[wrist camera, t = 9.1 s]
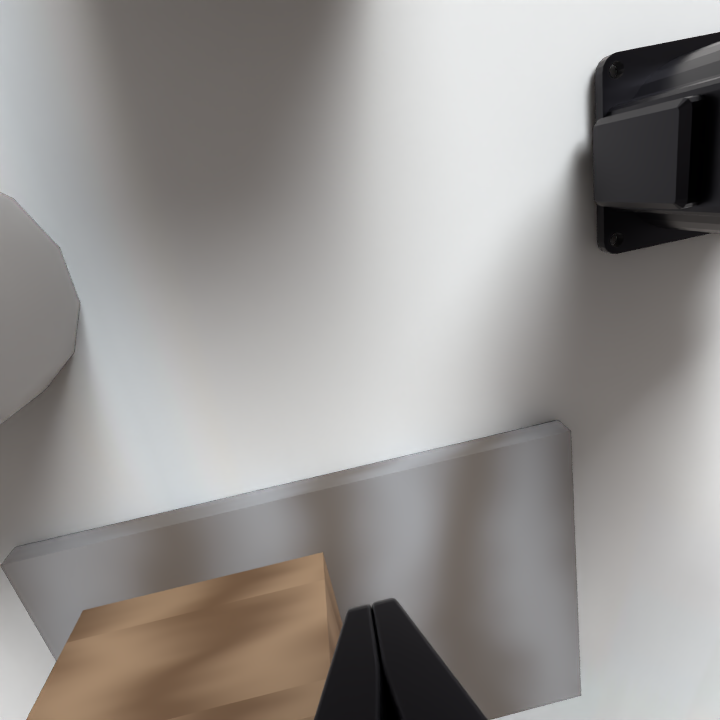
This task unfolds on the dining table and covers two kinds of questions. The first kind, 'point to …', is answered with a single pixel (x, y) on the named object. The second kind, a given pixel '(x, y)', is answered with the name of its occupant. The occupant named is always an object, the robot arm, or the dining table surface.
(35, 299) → the cup
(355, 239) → the dining table surface
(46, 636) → the wooden block on base
